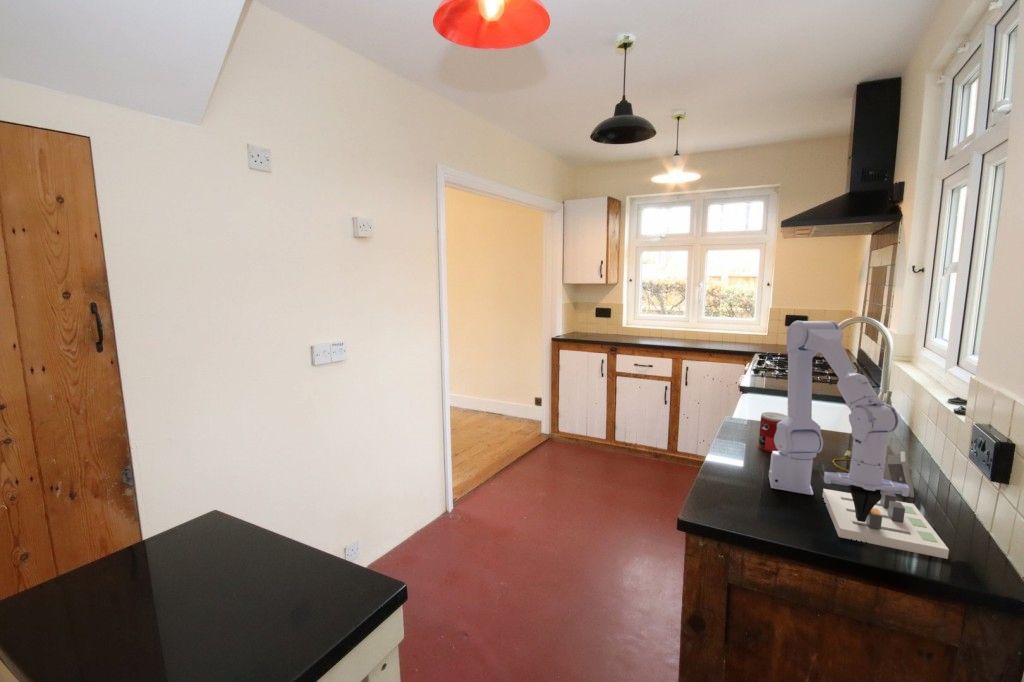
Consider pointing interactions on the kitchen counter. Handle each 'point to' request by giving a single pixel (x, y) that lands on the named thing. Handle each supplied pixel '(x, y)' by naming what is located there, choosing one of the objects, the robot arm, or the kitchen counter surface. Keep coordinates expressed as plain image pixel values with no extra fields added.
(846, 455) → the extension cord
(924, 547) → the breaker panel
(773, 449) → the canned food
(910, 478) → the electrical switch
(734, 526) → the kitchen counter surface
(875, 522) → the handle
